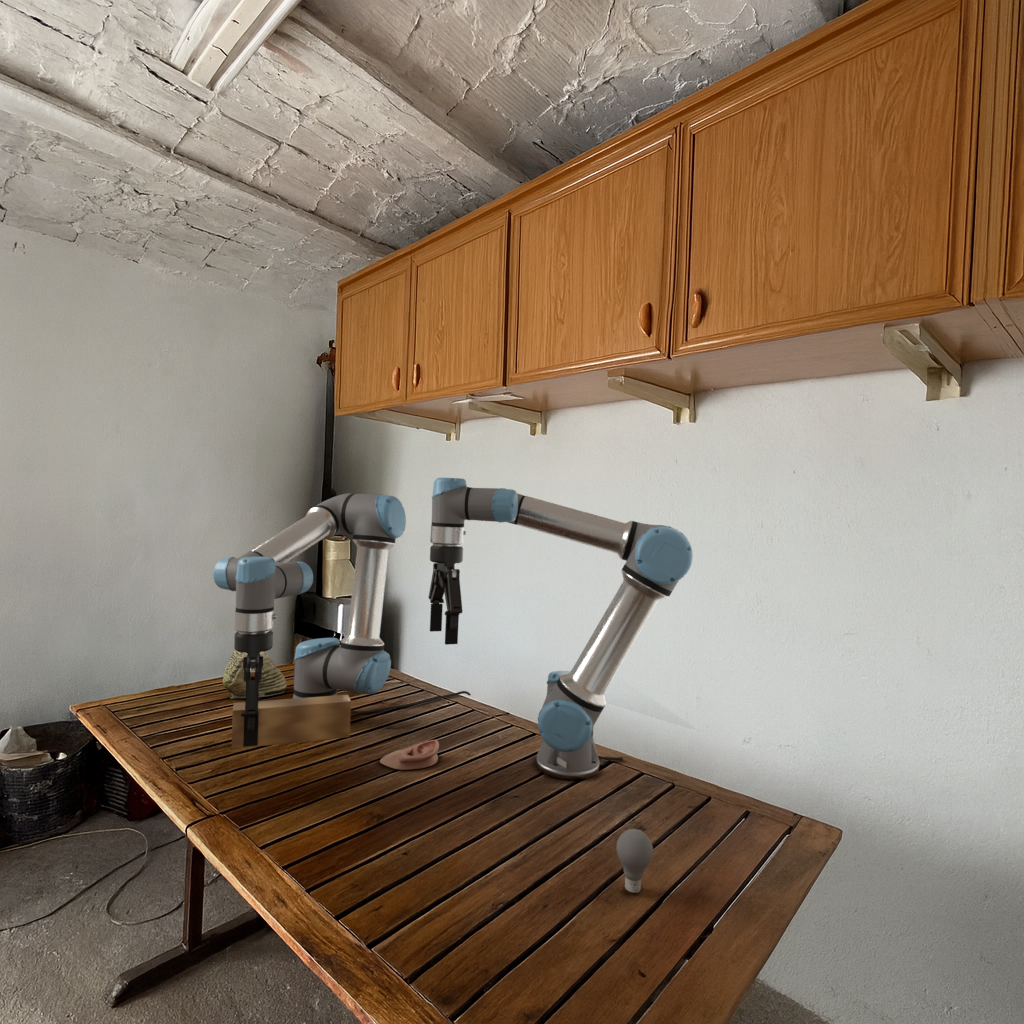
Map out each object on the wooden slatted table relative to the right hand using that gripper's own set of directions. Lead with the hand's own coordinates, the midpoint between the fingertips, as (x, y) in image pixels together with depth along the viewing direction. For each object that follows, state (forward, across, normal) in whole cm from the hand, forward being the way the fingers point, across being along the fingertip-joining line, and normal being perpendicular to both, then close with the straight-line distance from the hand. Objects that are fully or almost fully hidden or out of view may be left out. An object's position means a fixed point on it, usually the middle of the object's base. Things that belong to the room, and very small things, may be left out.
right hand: (443, 637), depth 145 cm
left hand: (+21, +3, +40) cm, 45 cm away
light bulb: (+32, -51, -20) cm, 64 cm away
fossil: (+32, +72, +40) cm, 88 cm away
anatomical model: (+32, +10, +4) cm, 34 cm away
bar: (+21, +3, +32) cm, 39 cm away
